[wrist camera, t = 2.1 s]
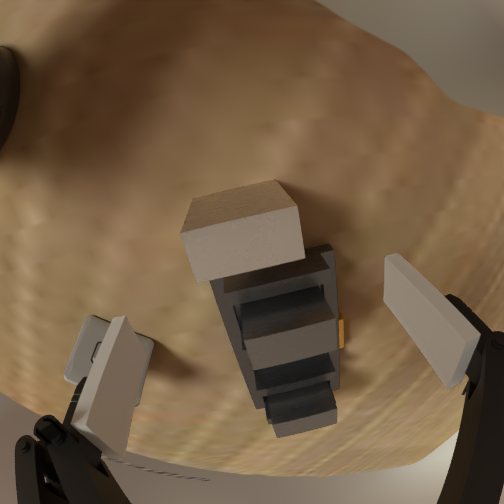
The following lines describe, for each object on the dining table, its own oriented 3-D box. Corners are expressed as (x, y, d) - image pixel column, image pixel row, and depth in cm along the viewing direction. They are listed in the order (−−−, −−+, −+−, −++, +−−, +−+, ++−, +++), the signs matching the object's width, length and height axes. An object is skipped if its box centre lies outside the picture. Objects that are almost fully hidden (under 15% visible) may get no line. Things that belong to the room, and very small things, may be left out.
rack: (209, 271, 31) (206, 325, 23) (334, 242, 31) (368, 285, 23) (255, 401, 41) (261, 448, 33) (340, 380, 41) (357, 424, 33)
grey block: (192, 198, 27) (180, 233, 19) (274, 179, 27) (297, 205, 19) (203, 236, 29) (197, 283, 21) (282, 217, 29) (305, 258, 21)
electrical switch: (156, 339, 34) (142, 400, 26) (147, 360, 36) (134, 417, 28) (88, 311, 32) (61, 367, 24) (85, 335, 34) (62, 389, 26)
